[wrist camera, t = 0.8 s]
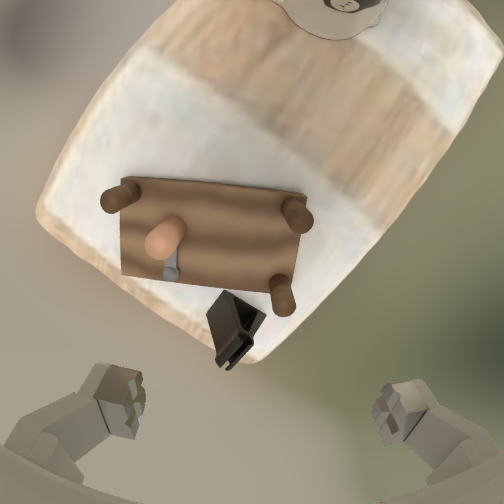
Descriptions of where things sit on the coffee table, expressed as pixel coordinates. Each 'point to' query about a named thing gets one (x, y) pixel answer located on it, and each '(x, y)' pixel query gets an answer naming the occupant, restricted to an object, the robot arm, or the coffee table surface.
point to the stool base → (214, 233)
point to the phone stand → (233, 328)
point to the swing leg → (166, 245)
